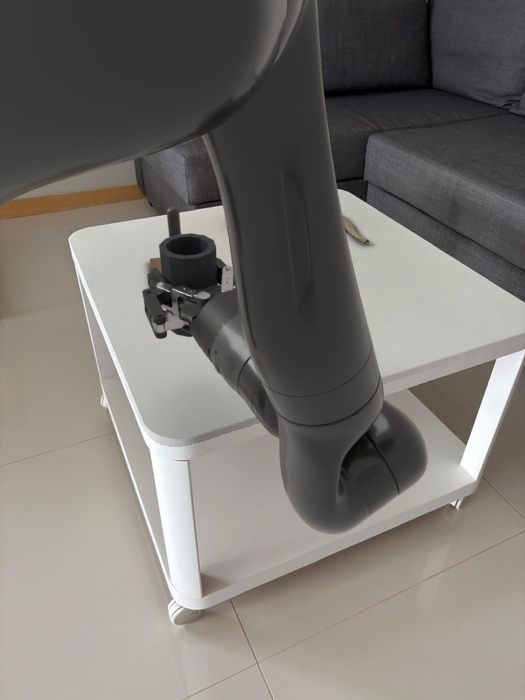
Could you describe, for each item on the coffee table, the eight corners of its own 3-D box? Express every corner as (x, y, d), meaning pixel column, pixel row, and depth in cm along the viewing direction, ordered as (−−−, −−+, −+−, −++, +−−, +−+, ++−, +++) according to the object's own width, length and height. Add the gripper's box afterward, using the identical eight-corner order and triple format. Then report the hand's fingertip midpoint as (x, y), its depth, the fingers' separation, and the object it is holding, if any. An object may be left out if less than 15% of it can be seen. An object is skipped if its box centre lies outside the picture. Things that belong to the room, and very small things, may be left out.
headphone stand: (154, 290, 90) (146, 220, 82) (150, 264, 97) (141, 198, 89) (208, 284, 91) (204, 215, 84) (200, 259, 98) (196, 194, 91)
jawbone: (310, 206, 119) (311, 197, 118) (391, 235, 109) (393, 226, 108) (284, 215, 114) (285, 205, 112) (366, 247, 103) (368, 237, 102)
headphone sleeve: (170, 339, 62) (162, 261, 56) (164, 311, 66) (156, 235, 60) (222, 333, 63) (219, 255, 57) (213, 305, 68) (210, 231, 61)
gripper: (316, 293, 52) (236, 226, 63) (174, 333, 46) (115, 252, 58) (310, 355, 56) (237, 282, 68) (180, 399, 51) (125, 311, 62)
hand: (181, 268), depth 63 cm, fingers closed on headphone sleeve, 6 cm apart
